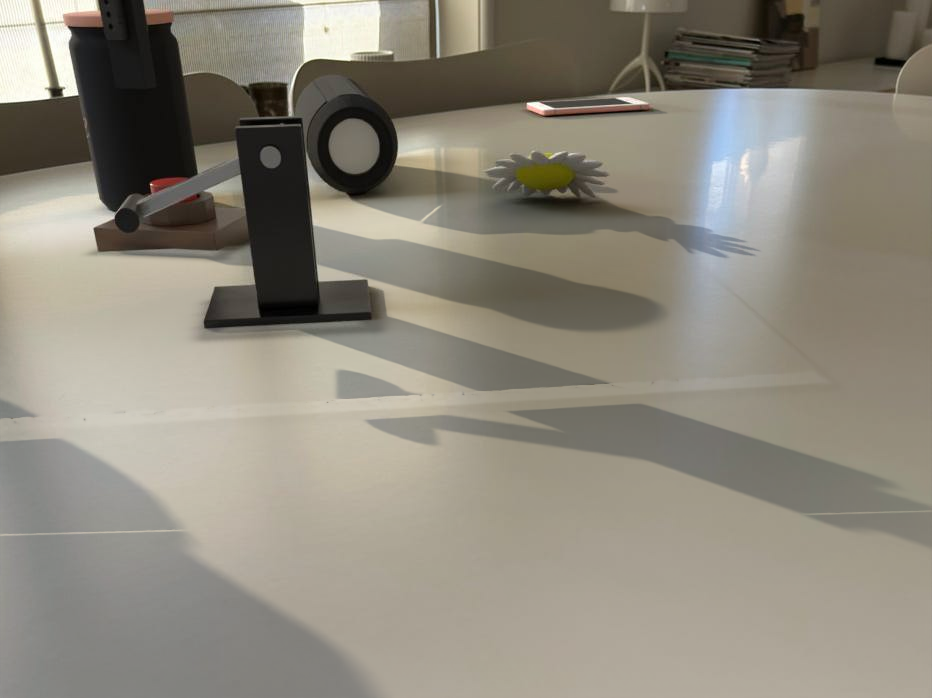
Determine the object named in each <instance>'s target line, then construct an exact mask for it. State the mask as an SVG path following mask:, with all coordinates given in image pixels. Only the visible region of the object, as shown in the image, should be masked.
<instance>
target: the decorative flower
mask: <svg viewBox="0 0 932 698" xmlns="http://www.w3.org/2000/svg"><path fill="white" fill-rule="evenodd" d="M509 157H510V158H499V159H497V160H495V164H496V165H495V167H491V168H490V167H489V168H487V169H485V170H484V171H483V172H484V173H486V174H485V176H487V177H488V178H495V179H499V180H498V181H496V182H495V183H494V184H493V185H492V187H491V190H499V189H501V188H504V187H506V186H508V185H509V186H508V188H507V190H506V193H507V194H510V193H513V192H515V191H516V190H518V189H519V188H521V187H522V190H521V195H522V196H523V197H525V198H526V197H529V196H531V195H532V194H534V193H535V192H536V191H540V193H541V195H543V196H548V195H550V194H551V193H552V191H555V190H557V191H558V192H559V193H560V194H565V193H566V192H567V191H568V189H569V190H570V192H571V193H572V194H573V195H574V196H575V197H576V198H578V199H581V198H582V192H583V193H584V194H585V195H587V196H589V197H590V198H593V199H596V193H595V191H594V190H593V189H592V187H591V186H590V185H589V184H592V185H598V186H604V185H606V183H605V182H604V181H602V180H601V179H599V178H606V177H608V176H610V173H608V172H607V171H605V170H602V169H600V167H602V166H603V164H604V163H603V162H602V161H599V160H593V159H586V158H587V156H586V154H585V153H581V152H570V153H569V152H568V151H566V150H564V151H559V152H556V153H552V152H542V151H541V150H532V152H531V153H530V155H525V154H523V153H518V152H512V153H510V155H509Z"/></svg>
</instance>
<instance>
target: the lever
mask: <svg viewBox="0 0 932 698" xmlns="http://www.w3.org/2000/svg"><path fill="white" fill-rule="evenodd" d="M279 125H284V123H281V124H279ZM238 176H241V173H240V166H239V158H238V155H237V156H235V157H232V158H231V159H228V160H225V162H224V161H223V162H221V163H219V164H217V165H215V166H213V167H211V168H208V169H206V170H204V171H202V172H200V173H199V172H198V174H197V175H195V176H193V177H190V178H188V179H186V180H184V181H182V182H179V183H177V184H175V185H173V186H170V187H168V188H166V189H164V190H162V191H159V192H157V193H155V194H153V195H150V196H148V197H146V198H145V197H144V196H142V195H140V194H132V195H130V196H129V197H128V198H127V199H126V200H125V202H124V203H123V204H122V206H121V207H120V208H119V209H118V211H117V212H115V214H114V218H113V219H114V220H115V224H116V226H117V227H118V229H119V230H121V231H122V232H124V233H133V232H135V231H136V230H137V229H138V228H139V226H140V225H141V223H142V222H143V220H144V219H145V217H146V216H148V215H151V214H153V213H155V212H157V211H159V210H162V209H164V208H166V207H168V206H171V205H173V204H175V203H177V202H180V201H182V200H184V199H186V198H188V197H191V196H193V195H195V194H197V193H200V192H202V191H206V190H209V189H211V188H213V187H215V186H217V185H220V184H222V183H224V182H227V181H230V180H231V179H233V178H235V177H238Z"/></svg>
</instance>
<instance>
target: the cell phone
mask: <svg viewBox="0 0 932 698" xmlns="http://www.w3.org/2000/svg"><path fill="white" fill-rule="evenodd" d="M649 109H650V103H649V102H647V101H642V100H639V99H636V98H633V97H629V96H623V97H604V98H603V97H602V98H601V97H600V98H587V99H566V100H552V101H551V100H550V101H548V100H547V101H533V102H527V103H526V110H528V111H531V112H533V113H536V114H539V115H540V116H557V115H558V116H559V115H561V116H562V115H576V114H591V113H592V114H593V113H608V112H609V113H611V112H625V111H627V112H629V111H645V110H649Z"/></svg>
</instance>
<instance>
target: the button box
mask: <svg viewBox="0 0 932 698" xmlns="http://www.w3.org/2000/svg"><path fill="white" fill-rule="evenodd" d="M150 195H152V193H151V194H146V195H144V197H145V198H146V197H148V196H150ZM92 228H93V229H92V230H93V234H94V239H95V243H96V249H97V252H98V253H108V252H110V253H111V252H130V251H131V252H132V251H151V250H192V251H194V250H195V251H216V252H217V251H219V250H220V249H222V248H224V247H238V246H240V245H241V244H244V243H245V242H247V241H249V234H248V226H247V219H246V211H245V207H225V206H224V207H223V206H221V207H220V206H216V204H215V198H214V195H213V193H212V192H210V191H206V190H204V191H202V192H200V193H197V199H195V200H189V201H184V202H177V203H175V204H173V205H171V206H168V207H166V208H164V209H162V210H159V211H157V212H155V213H153V214H151V215H148V216H146V217H145V219H144V220H143V222H142V223H141V225H140V226H139V228H138V229H137V230H136V231H135V232H133V233H124V232H122V231H121V230H119V229H118V227H117V226H116V224H115V220H114V218H113V219H110V220H108V221H106V222H103V223H101V224H99V225H96V226H94V227H92Z"/></svg>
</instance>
